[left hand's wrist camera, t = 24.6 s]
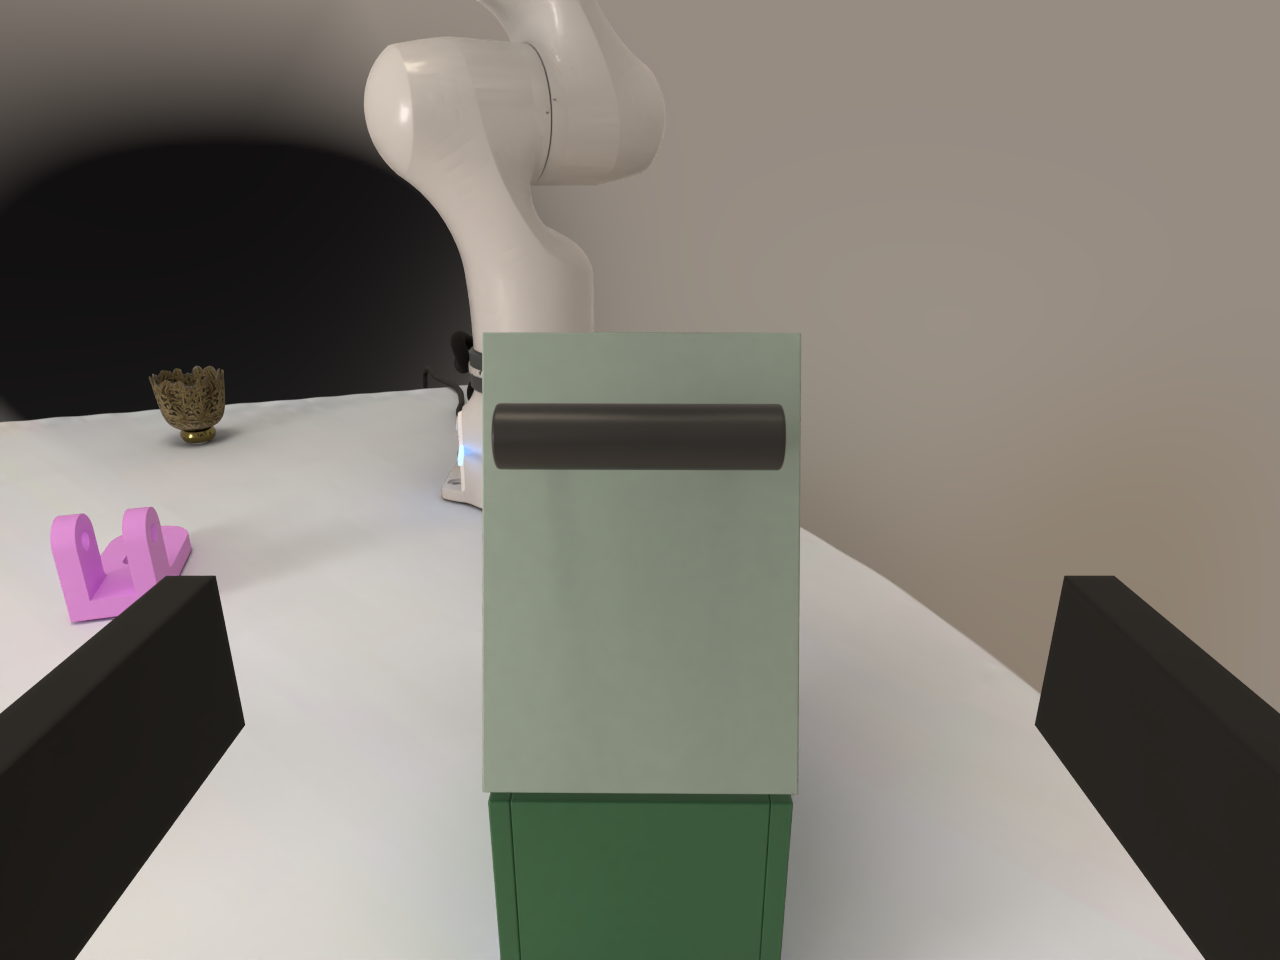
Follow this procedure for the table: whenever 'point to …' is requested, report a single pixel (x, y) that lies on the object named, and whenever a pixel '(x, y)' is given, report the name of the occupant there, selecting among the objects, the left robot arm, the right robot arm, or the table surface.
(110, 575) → the bracket
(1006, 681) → the table surface
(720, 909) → the chest
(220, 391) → the cup
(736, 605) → the lid
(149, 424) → the table surface
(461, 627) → the table surface
